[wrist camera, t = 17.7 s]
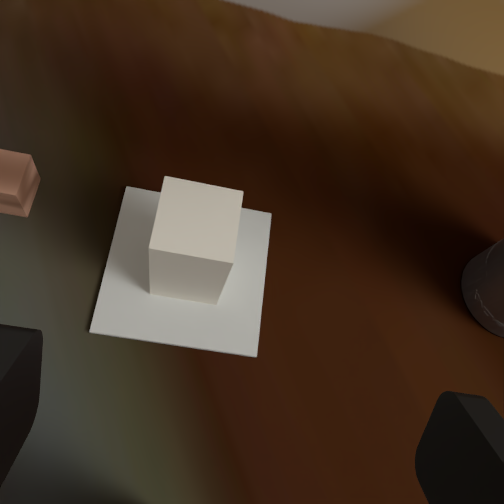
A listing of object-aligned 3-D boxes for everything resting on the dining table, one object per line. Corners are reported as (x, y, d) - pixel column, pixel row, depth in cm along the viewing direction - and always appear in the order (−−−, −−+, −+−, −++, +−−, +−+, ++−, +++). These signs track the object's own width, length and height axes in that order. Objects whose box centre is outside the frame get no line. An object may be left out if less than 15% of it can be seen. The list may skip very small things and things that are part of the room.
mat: (126, 188, 45) (126, 186, 45) (270, 215, 47) (271, 213, 46) (89, 332, 39) (89, 331, 39) (255, 357, 41) (256, 356, 41)
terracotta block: (-5, 171, 43) (-19, 145, 40) (40, 179, 44) (30, 154, 40) (-20, 209, 42) (-37, 185, 38) (27, 217, 42) (15, 195, 38)
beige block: (162, 234, 43) (164, 175, 34) (225, 245, 44) (243, 191, 35) (149, 294, 41) (148, 248, 32) (216, 305, 42) (233, 263, 33)
